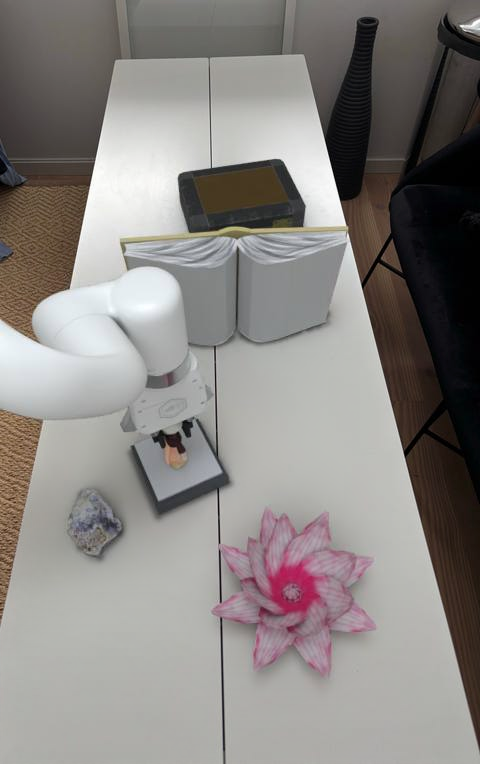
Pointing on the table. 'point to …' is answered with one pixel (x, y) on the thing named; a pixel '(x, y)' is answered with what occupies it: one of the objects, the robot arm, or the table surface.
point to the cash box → (241, 197)
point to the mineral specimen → (92, 522)
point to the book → (247, 278)
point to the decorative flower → (295, 590)
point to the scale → (180, 470)
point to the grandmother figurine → (174, 446)
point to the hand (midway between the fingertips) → (172, 434)
